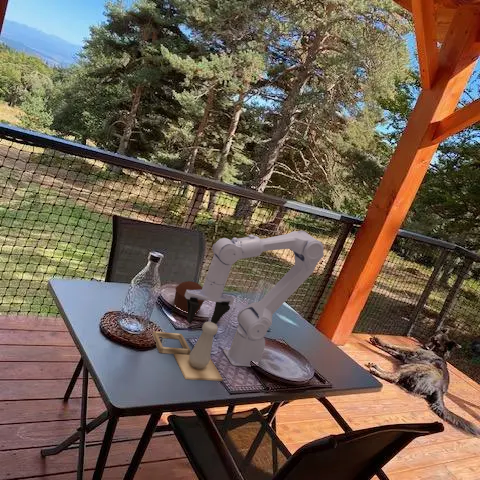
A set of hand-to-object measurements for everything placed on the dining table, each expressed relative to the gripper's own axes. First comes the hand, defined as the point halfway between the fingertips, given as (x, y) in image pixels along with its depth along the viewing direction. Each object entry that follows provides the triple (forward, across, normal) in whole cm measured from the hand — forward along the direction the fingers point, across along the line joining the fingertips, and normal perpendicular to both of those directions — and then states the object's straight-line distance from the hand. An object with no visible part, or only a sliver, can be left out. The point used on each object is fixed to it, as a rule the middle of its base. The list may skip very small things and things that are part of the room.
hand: (201, 323), depth 131 cm
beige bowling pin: (+10, 0, +6) cm, 12 cm away
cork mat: (+10, 0, +7) cm, 12 cm away
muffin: (+11, -8, -29) cm, 32 cm away
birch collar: (+10, +5, -4) cm, 12 cm away
